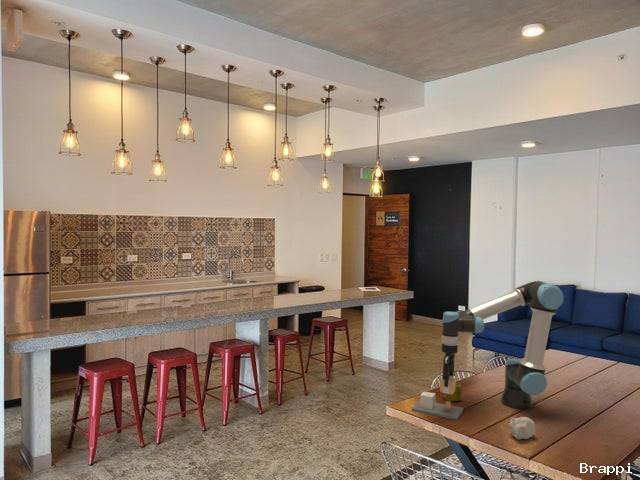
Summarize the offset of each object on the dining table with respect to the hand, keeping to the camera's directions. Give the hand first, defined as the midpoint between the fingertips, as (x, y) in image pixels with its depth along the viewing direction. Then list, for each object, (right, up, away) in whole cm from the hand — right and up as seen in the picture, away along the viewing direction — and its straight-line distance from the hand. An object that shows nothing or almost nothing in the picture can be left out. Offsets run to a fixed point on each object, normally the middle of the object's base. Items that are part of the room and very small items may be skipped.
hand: (447, 390), depth 233 cm
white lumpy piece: (+25, -12, -25) cm, 37 cm away
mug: (+7, -10, +20) cm, 24 cm away
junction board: (-4, -10, +3) cm, 12 cm away
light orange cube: (0, 0, 0) cm, 0 cm away
